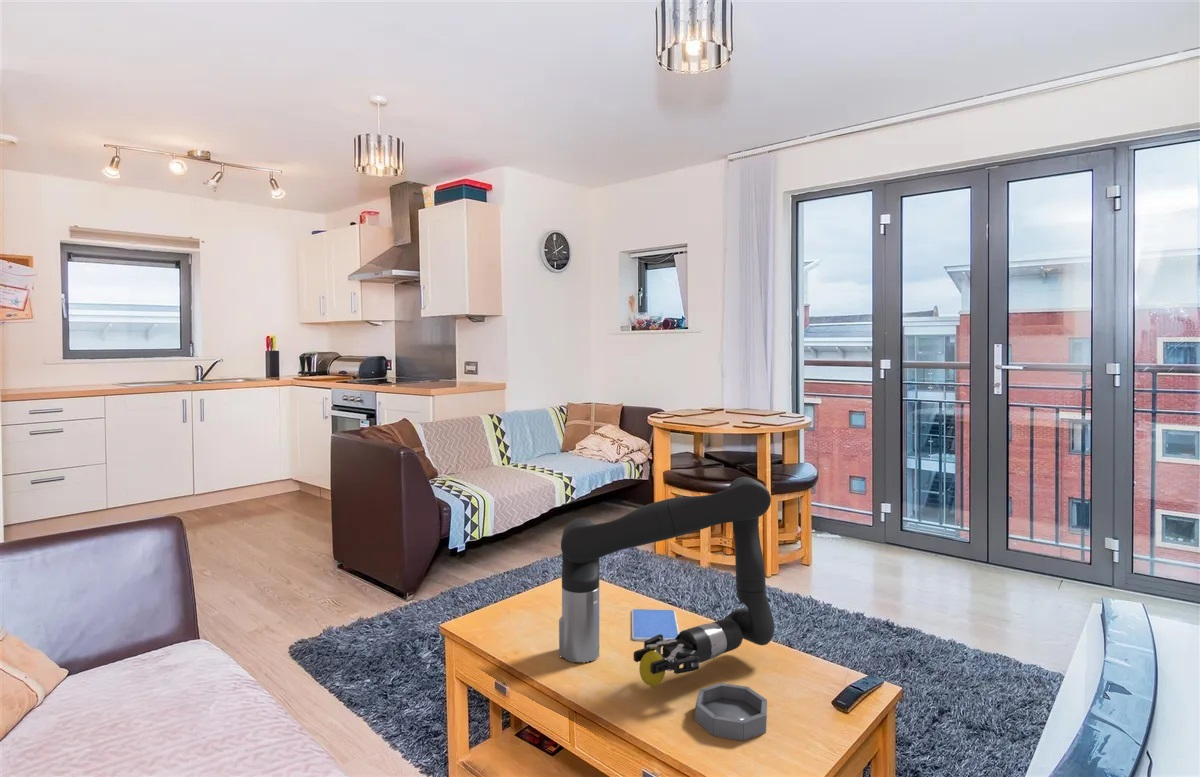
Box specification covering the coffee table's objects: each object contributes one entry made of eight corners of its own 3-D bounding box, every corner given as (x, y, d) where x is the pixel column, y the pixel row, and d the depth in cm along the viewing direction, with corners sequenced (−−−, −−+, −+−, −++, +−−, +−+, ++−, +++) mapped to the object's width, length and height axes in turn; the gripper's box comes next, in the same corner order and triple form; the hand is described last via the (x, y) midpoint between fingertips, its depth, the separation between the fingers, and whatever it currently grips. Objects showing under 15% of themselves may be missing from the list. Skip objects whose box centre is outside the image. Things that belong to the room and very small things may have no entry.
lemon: (663, 695, 132) (663, 658, 132) (637, 692, 134) (637, 655, 133) (666, 681, 138) (666, 646, 137) (641, 679, 139) (641, 644, 138)
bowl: (692, 732, 122) (692, 714, 122) (701, 695, 136) (701, 679, 135) (765, 744, 118) (765, 726, 118) (767, 705, 132) (767, 689, 131)
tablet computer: (631, 612, 181) (631, 607, 181) (675, 613, 181) (675, 608, 181) (631, 642, 162) (631, 637, 162) (680, 644, 161) (680, 639, 161)
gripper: (681, 616, 149) (623, 633, 140) (724, 639, 137) (664, 659, 128) (681, 646, 149) (623, 665, 140) (723, 672, 137) (663, 695, 128)
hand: (643, 662), depth 134 cm, fingers closed on lemon, 5 cm apart
